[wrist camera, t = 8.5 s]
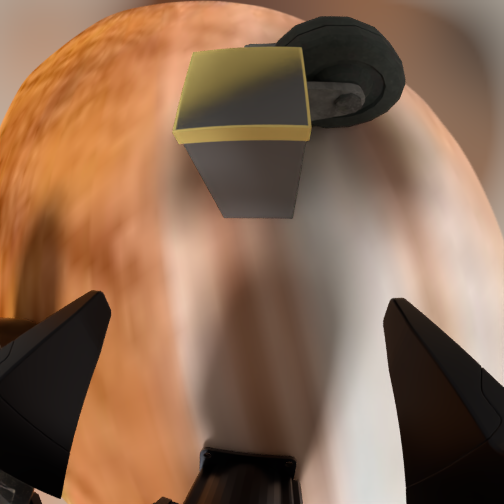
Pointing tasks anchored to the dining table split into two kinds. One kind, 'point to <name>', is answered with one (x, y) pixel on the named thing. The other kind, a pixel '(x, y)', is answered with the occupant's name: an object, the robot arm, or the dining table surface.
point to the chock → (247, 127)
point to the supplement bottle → (13, 329)
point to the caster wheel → (345, 70)
